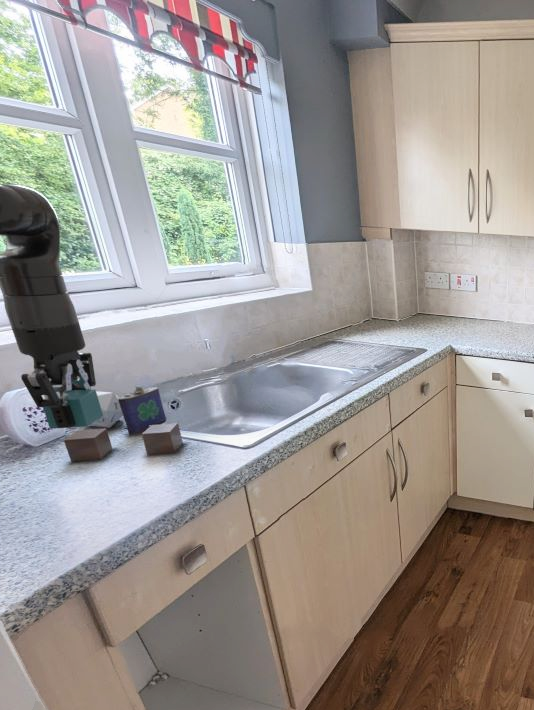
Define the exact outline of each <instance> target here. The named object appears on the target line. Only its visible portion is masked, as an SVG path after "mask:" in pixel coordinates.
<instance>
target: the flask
mask: <svg viewBox="0 0 534 710" xmlns="http://www.w3.org/2000/svg"><path fill="white" fill-rule="evenodd" d="M134 387H135V389H134V391H133V392H129V394H127V393H124V394H123V396H120V397H118V398H119V400H118V401H119V404H120V407H121V410H122V413H123V416H122V417H123V420H124V422H125V425H126V429H127V432H128V435H131V436H132V435H138V434H142V433H143V432H144V431H146V430H147V429H148V428H149V427H150V426H149V425H158V424H165V423H166V422H167V417H166V412H165V409H164V406H163V402H162V397H161V394H160V389H159V388H158V387H157V386H156V387H155V386H154V387H153V386H152V387H148V388H146V389H144V388H145V386H144V385H143V386H141V385H134Z"/></svg>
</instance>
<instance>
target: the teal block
mask: <svg viewBox="0 0 534 710" xmlns="http://www.w3.org/2000/svg"><path fill="white" fill-rule="evenodd" d="M96 391H97V390H96V389H91V390H71V391H70V392H69V393H68V398H69V405H70V407H71V410H72V413H73V416H74V420H75V423H76V424H75V425H74V426H73V427H66V428H65V429H69V428H86V427H90V426H89V425H90V424H92V423H93V422H95V421H96V420H98V419H99V418H100V417H102V416H103V413H102V410H101V407H100V403H99V400H98V396H97V393H96ZM56 393H57V395H58V397H59V399H60V393H59V392H56ZM43 399H44V400H45V398H43ZM42 410H43V413H44V415H45V418H46V422H47V424H48V427H49V429H50V430H53V429H60V428H59V427H57V425H56V423H55V420H54V417H53V414H52V411H51V409H50V408H49V407H42Z"/></svg>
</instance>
